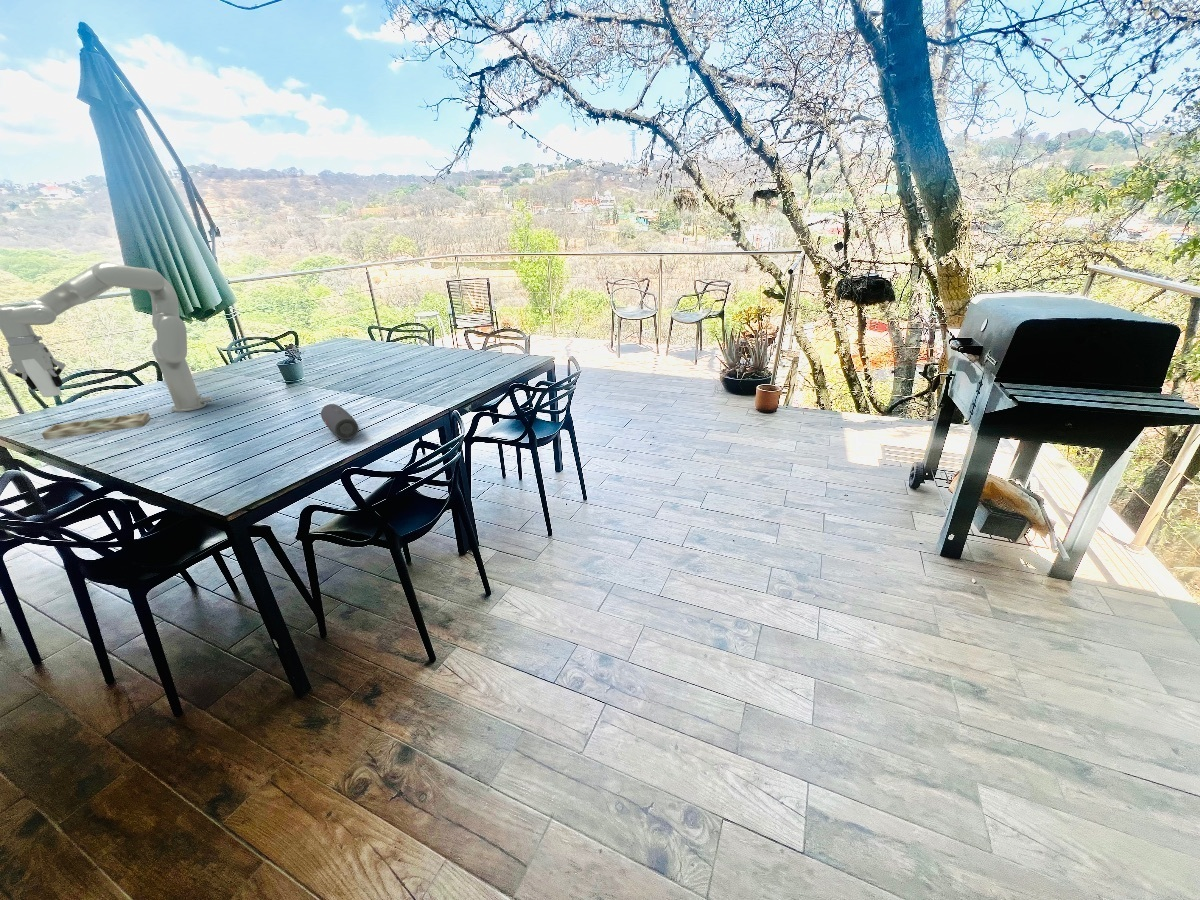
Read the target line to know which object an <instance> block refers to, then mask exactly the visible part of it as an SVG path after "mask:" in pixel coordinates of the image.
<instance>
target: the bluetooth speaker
mask: <svg viewBox="0 0 1200 900" xmlns="http://www.w3.org/2000/svg"><path fill="white" fill-rule="evenodd" d="M320 417H321V419H322V421H323V423H324V424H325V426H326V427H327V428H328V429H329V431H331V433H333V434H334V435H335V436H336V437H337V438H340V439H342V440H351V439H353V438H355V437H356V436H357V435H358V433H359V430H360V428H359V424H358V423H357V420H355V419H354V417H353V416H352V415H351V414H350V413H349V412H348V411H347V410H346V409H345V408H343V407H342V406H340V405H338V404H337V403H335V404H334V403H328V404H326V405H324V406H323V408H322V409H321V410H320Z"/></svg>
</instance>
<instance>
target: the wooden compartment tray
mask: <svg viewBox="0 0 1200 900" xmlns="http://www.w3.org/2000/svg"><path fill="white" fill-rule="evenodd" d="M150 419H151V415H150V413H149V412H142V413H135V414H127V415H119V416H111V417H103V418H96V419H89V420H82V421H73V422H66V423H59V424H58V423H56V424H53V425H51V426H50V427H48V428H47V429H46V430H45V431H43V432H42V433H41V436H42V438H43V440H53V439H59V438H65V437H67V438H68V437H73V436H79V435H80V434H81V435H88V434H95V432H96V433H102V432H109V431H118V430H125V429H132V428H137V427H144V426H145V425H146V424H147V423H148V422H149V420H150Z"/></svg>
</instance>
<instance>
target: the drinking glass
mask: <svg viewBox="0 0 1200 900" xmlns="http://www.w3.org/2000/svg"><path fill="white" fill-rule="evenodd" d="M22 363H23V366H24V368H25V370H26V373H27V375H28V376H29V377H30V379H31V380H32V382H33V383H34V384H35V386H36V387H37V388H36V389H37V390H38V392H39V393H40V394H41V396H42V397H43V398H52V397H56V396H60V395H62V394H63V392H62V390H61V387H56V385H55V383H54V381H53V379H52V377H53V376H52V375H51V374H50V373H49V372H48V371H47V370H44V369H43V368H42V367H41V366H40V365H39V364H38V362H37V361H36V360H35V359H26V360H22Z"/></svg>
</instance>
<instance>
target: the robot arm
mask: <svg viewBox="0 0 1200 900" xmlns="http://www.w3.org/2000/svg"><path fill="white" fill-rule="evenodd" d="M113 287H118V288H125V289H132V290H141V291H147V292H148V294H149V296H150V299H151V310H152V311H151V313H152V316H151V317H152V323H151V325H152V327H153V329H154V330H155V331H156V340H155V341H154V342H153V343H152V345H151V351H152V354H153V355H154V358H155V360H156V362H157V364H158V367H159V368H160V372H161V373H162V377H163V380H164V382H165V384H166V386H167V389H168V392H169V393H170V394H169V395H170V396H171V397H170V398H171V400H172V402H173V406H172V407H171V408H170V409H171V411H172V412H176V413H181V412H183V413H184V412H191V411H196V410H198V409H203V408H205V407H206V406H207V403H209V402H213V397H212V396H206V397H204V396H202V394H199V392H198V390H197V389H198V388H197V386H196V383H195V380H194V377H193V375H192V372H191V369H190V367H189V365H188V361H187V360H186V359H187V356H188V355H187V354H188V338H187V337H188V335H187V333H188V332H187V326H186V324H185V322H184V321H183V319H182V318H180V307H179V299H178V295H177V293H176V291H175V289H174V287H173V286H172V284H171V283H170V282H169V281H168V280H167V279H166V278H165V277H164V276H163V275H162V274H161V272H159V271H157V270H155V269H151V268H147V267H139V266H138V267H137V266H129V265H122V264H116V263H111V262H107V261H106V262H105V261H103V262H102V261H101V262H98V263H96V264H93V266H90V267H89V268H88V269H87V268H86V270H84V271H82V272H80V273H78V274H77V275H75V276H73V277H72V278H69V279H68V280H66V281H65V282H62V283H61V284H60V285H59V286H57V287H55V288H53V289H52V290H50V291H47V292H46V293H45V294H42V295H41V296H39V297H38V298H36V299H34V300H32V301H31V302H28V303H27V304H26V305H23V306H17V305H6V306H5V305H3V306H0V331H1V333H2V335H3V336H4V338H5V340H6V342H7V344H8V346H7V351H8V354H9V355H8V356H9V358H10V360H11V363H12V365H10V367H9V368H8V369H7V373H9V374H11V375H14V376H15V377H17V378H20V379H22V380H23V381H24V382H25V383H26V385H27V387H28V388H30V389H31V390H32V391H34V390H36V389H37V387H36V386H35V384H34V383H33V382H32V380H31V379H30V377H29V376H28V375H27V373H26V370H25V368H24V366H23V363H22V360H26V359H35V360H36V361H37V362H38V364H39V365H40V366H41V367H42V368H43V369H44V370H47V371H48V372H49V373H50V374H51V375H52V376H53V377H52V379H53V381H54V383H55V385H56V387H59V388H61V387H62V386H63V383H64V382H63V380H62V378H61V376H60V375H61V374H62V372H63V370H64V369H65V367H66V366H67V365H66V364H65V363H62V362H61V361H59V360H56V359H55V357H54V356H53V354H52V353H51V351H50V350H49V348H48V347H47V346H46V345H45V344H44V342H40V341H43V339H44V338H43V337H42V336H40V335H39V336H38V335H37V334H36V333H35V332H34V329H33V327H32V326H47V325H51V324H53V323H55V321H56V320H57V317H58V316H60V315H61V314H63V313H64V312H66V311H67V310H70V309H71V308H73V307H75V306H79V305H82V304H86V303H89V302H90V301H93V299H96V298H97V297H99V296H100V295H102V294H104V293H106V292H107V291H108V290H110V289H112V288H113ZM56 367H57V369H55V368H56Z"/></svg>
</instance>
